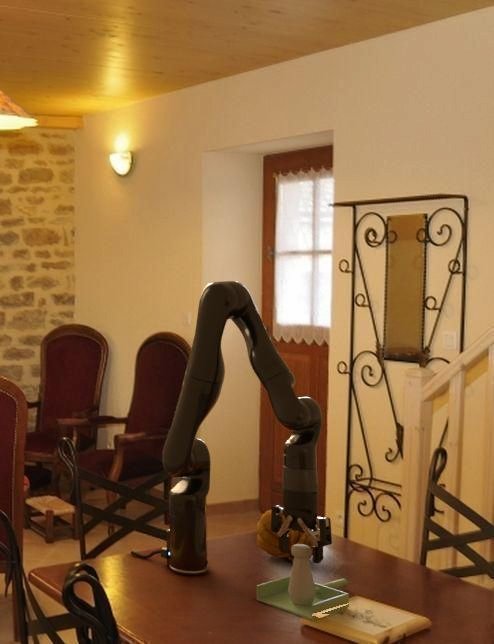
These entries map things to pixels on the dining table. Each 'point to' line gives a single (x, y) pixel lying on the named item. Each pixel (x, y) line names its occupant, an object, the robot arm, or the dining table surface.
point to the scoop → (325, 598)
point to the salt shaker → (301, 576)
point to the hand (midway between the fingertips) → (300, 557)
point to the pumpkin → (271, 539)
